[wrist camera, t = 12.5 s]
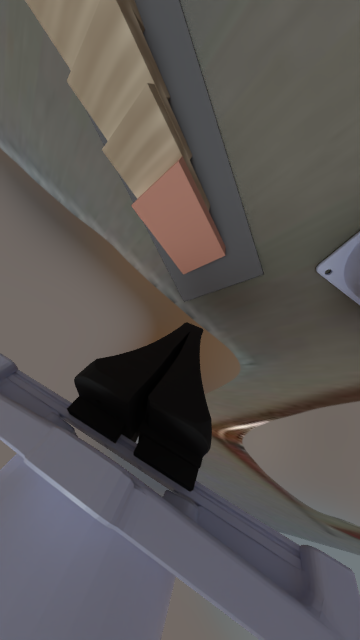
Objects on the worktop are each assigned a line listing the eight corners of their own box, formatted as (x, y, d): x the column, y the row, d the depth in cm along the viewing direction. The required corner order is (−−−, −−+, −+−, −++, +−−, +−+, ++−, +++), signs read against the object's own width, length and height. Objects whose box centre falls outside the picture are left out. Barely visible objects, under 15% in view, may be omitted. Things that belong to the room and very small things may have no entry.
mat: (263, 273, 17) (263, 274, 17) (184, 300, 23) (184, 301, 22) (159, -63, 10) (157, -69, 10) (81, 97, 15) (79, 96, 15)
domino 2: (189, 160, 13) (107, -19, 8) (147, 198, 16) (66, 81, 11) (192, 155, 14) (119, -8, 9) (151, 192, 17) (79, 82, 12)
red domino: (225, 255, 16) (178, 161, 11) (183, 274, 19) (131, 205, 14) (225, 246, 17) (182, 155, 12) (185, 266, 20) (137, 198, 15)
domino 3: (208, 211, 15) (147, 83, 10) (166, 239, 17) (101, 149, 12) (210, 204, 16) (154, 83, 11) (169, 231, 18) (110, 145, 13)
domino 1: (166, 97, 12) (52, -155, 7) (124, 151, 15) (21, -5, 10) (170, 97, 13) (72, -128, 8) (130, 148, 16) (39, 3, 11)
